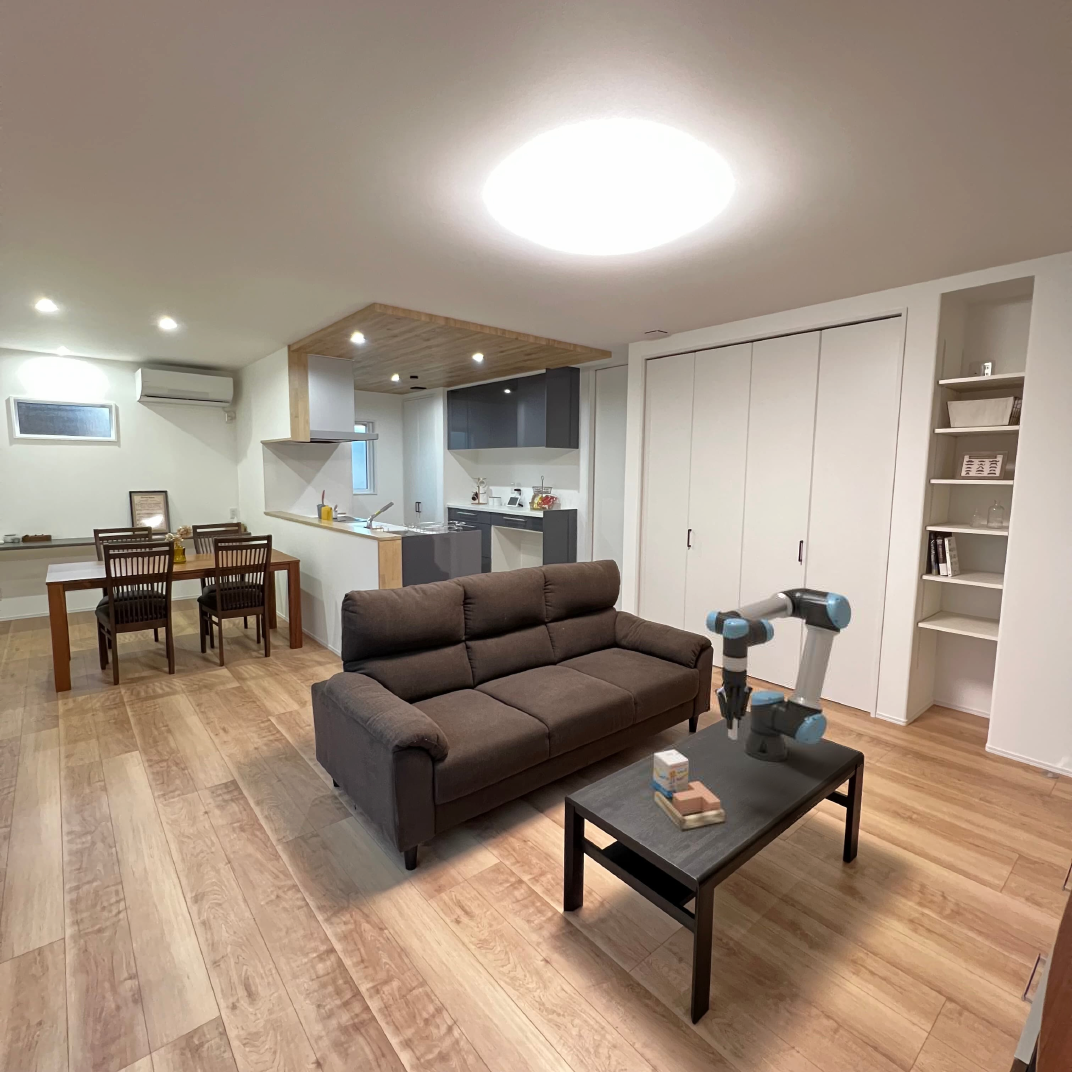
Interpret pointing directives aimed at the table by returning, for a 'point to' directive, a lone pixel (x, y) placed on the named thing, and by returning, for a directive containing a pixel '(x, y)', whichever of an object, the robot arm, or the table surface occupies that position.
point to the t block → (695, 800)
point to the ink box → (670, 772)
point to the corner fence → (688, 820)
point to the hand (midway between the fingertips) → (732, 737)
